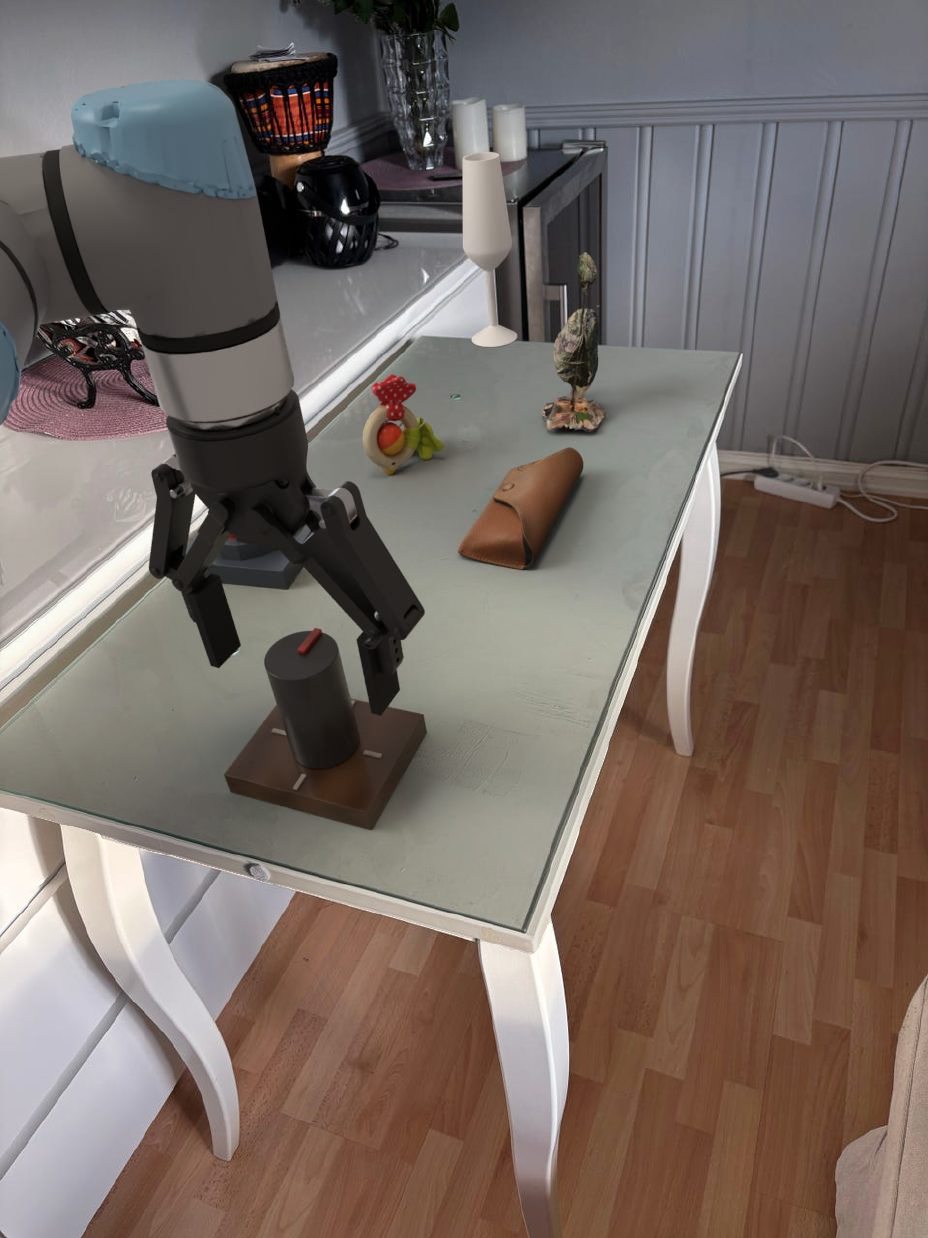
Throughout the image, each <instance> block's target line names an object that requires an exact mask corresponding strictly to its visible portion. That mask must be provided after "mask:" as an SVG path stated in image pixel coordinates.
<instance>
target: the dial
mask: <svg viewBox="0 0 928 1238" xmlns="http://www.w3.org/2000/svg"><path fill="white" fill-rule="evenodd" d="M263 664H264V668H265V671H266V675H267V678H268V682H269V685H270V689H271V691H272V694H273V697H274V700H275V705H276V704H277V707H278V710H279V713H280V717H281V720H282V723H283V726H284V729H285V733H286V736H287V739H288V742H289V745H290V748H291V752H292V755H293V757H294V758H295V760H296V761H297V762H298V763H300V764H301V765H303V766H305V767H308V768H314V769H324V768H329V767H333V766H336V765H338V764H340V763H342V762H344V761H345V760H347V759H348V758H349V757H350V756H351V755H352V754H353V753H354V752H355V751H356V749H357V747H358V744H359V739H360V736H359V731H358V727H357V723H356V719H355V715H354V710H353V706H352V702H351V699H352V698H351V694H350V691H349V686H348V682H347V678H346V674H345V671H344V665H343V661H342V656H341V653H340V649H339V645H338V643H337V641H336V639H335V638H334V637H332V636H331V635H330V634H327V633H326V632H323V630H322V628H317V627H314V628H313V629H312V630H302V631H297V632H293V633H290V634H288V635H287V634H286V635H285V636H283V637H281V638H280V639H278V640H277V641H275V642H274V643H273V644H272V645H271V646H270V647H269V648H268V650H267V651H266V652H265V655H264V660H263Z"/></svg>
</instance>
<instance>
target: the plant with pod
mask: <svg viewBox="0 0 928 1238" xmlns="http://www.w3.org/2000/svg"><path fill="white" fill-rule="evenodd" d="M576 268H577V279H576V281H577V285H578V287H579V288H581V289H582V290H583V291H582V295H583V300H582V304H583V305H582V308H578V309H577V310H576V311H574V312H573V313H572V314H571V316H570V317H568V319H567V320H566V322H565V324H564V326H563V327H562V330H560V332H559V333H558V334H557V337H556V339H555V340H554V345H553V346H552V347H553V354H552V355H553V363H554V367H555V370H556V375H557V376H558V377H559V378H560V379H561V381H563V382H564V383H566V384H569V385H570V387H571V388H570V397H567V396H561V397H558V398H556V399H555V400H554V401H552V402H549V403H548V402H546V404H545V406H544V409H543V410H541V412H540V414H541V416H543V417H544V418H543V419H542V420H543V421H545V424H546V425H545V426H546V430H549V431H553V430H558V429H561V428H563V427H565V428H566V429H568V427H569V429H570V430H571V429H574V431H577V430H579V431H581V430H582V431H583V430H584V432H588V433H591V432H593V431H596V430H598V427H599V426H600V424H601V422H602V419H604V417H606V409H605V408H602V407H600V403H598V401H597V400H595V399H594V398H593V399H590V400H589V399H586V398H585V395H586V393H587V392H588V390H589V389H590V387H591V386H592V384H593V382H594V380H595V378H596V375H597V372H598V370H599V369H598V368H599V340H600V338H599V337H600V324H599V318H598V314H597V311H596V310H594V309H590V308H588V307H587V308H585V307H586V300H587V296H588V294H589V293H588V288H589V287H590V286H591V285H593V284H594V283H595V282H596V279H597V276H598V271H597V266H596V264H595V261H594V260H593V258H592V257H591V255H589V253H588V252H585V251H584V252H582V253H581V254H580V255H578V258H577V263H576ZM596 307H598V308H599V307H601V306H600V305H598V304H596Z"/></svg>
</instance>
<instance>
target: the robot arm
mask: <svg viewBox="0 0 928 1238" xmlns="http://www.w3.org/2000/svg"><path fill="white" fill-rule="evenodd" d="M70 119H71V123H72V128H73V134H72V136H71V137H72V142H73V144H68V145H62V146H61V147H60V148H58V149H51V150H46V151H44V152H36V153H28V154H17V155H11V156H1V157H0V426H1V425H2V424H3V423H4V422H5V421H6V420H7V418H8V416H9V413H10V410H11V407H12V405H13V402H14V401H15V400H16V399H17V398H18V395H19V390H20V387H21V386H20V385H21V379H22V378H21V377H22V369H23V367H24V364H25V362H26V360H27V356H28V354H29V352H30V350H31V349H32V347H33V344H34V342H35V339H36V337H37V335H38V332H39V329H40V327H41V325H46V324H52V323H58V322H64V321H69V320H70V321H71V320H77V319H82V318H89V317H94V316H95V317H96V316H102V315H107V314H111V313H112V312H118V311H124V310H125V311H129V312H130V314H131V316H132V319H133V321H134V323H135V328H136V331H137V335H138V338H139V340H140V344H141V347H142V350H143V354H144V357H145V358H144V359H145V361H146V364H147V367H148V371H149V374H150V378H151V380H152V384H153V388H154V392H155V396H156V398H157V402H158V405H159V408H160V409H161V411H163V412H164V413H165V414H166V415H167V416H166V420H165V421H166V422H165V424H166V428H167V431H168V434H169V438H170V441H171V444H172V447H173V450H174V454H172V455H170V456H169V457H168V458H166V459H165V460H164V461H163V462H161V463H160V464H158V465H157V466H156V467H154V468H153V469H152V470H151V472H150V476H151V479H152V484H153V486H154V487H153V488H154V491H155V496H156V502H155V510H154V519H153V526H152V535H151V543H150V544H151V545H150V553H149V561H148V571H149V574H151V576H153V578H156V579H157V580H162V579H163V578H165V577H166V578H167V579H169V580H171V584H172V586H173V587H174V588H175V589H176V590H178V591H179V592H180V593H181V596H182V599H183V601H184V605H185V607H186V610H187V613H188V616H189V617H190V619H191V621H192V623H195V624H196V628H197V630H198V633H199V636H200V638H201V642H202V644H203V647H204V650H205V654H206V656H207V659H208V662H209V666H210V667H213V668H216V669H220V668H221V667H222V666H223V665H224V664H225V663H226V662H227V660H229V659H230V658H231V657H232V656H233V654H234V653H236V652H237V651H238V649H239V648H241V646H242V643H241V640H240V637H239V634H238V630H237V628H236V624H235V621H234V618H233V615H232V612H231V607H230V605H229V601H228V599H227V595H226V592H225V589H224V586H223V583H222V582H221V579H220V575H216V574H212V573H211V574H210V575H209V576H207V577H206V578H205V575H204V574H205V573H206V572H207V571H208V570H209V569H210V568H211V567H212V566H214V565H213V564H212V563H213V562H214V560H215V558H216V557H217V555H218V554H219V552H220V551H221V549H222V547H223V546H224V544H225V543H226V541H227V540H228V538H229V537H230V535H233V536H235V537H236V540H237V542H242V543H246V544H250V543H257V544H259V545H261V546H263V547H266V548H268V549H273V550H277V551H278V550H280V551H281V552H282V553H283V555H284V556H285V557H286V558H287V559H288V560H289V561H290V562H291V563H293V564H300V565H302V566H303V567H302V568H304V569H305V570H306V572H308V573H309V575H311V577H312V578H313V579H314V580H315V581H316V582H317V584H319V586H320V587H322V589H323V590H324V591H325V592H326V593H327V594H328V595H329V597H330V598H331V599H333V601H335V603H336V604H337V605H338V606H339V607H340V608H341V609H342V610H343V612H344V613H345V614H346V615H347V616H348V618H350V619H351V620H352V621H353V622H354V624H356V626H357V627H358V628H359V629H360V630H361V631H362V632H361V633H360V635H359V636H358V637H357V638H356V644H357V645H356V646H357V648H358V655H359V660H360V664H361V665H360V666H361V669H362V674H363V679H364V684H365V688H366V694H367V699H368V702H369V704H370V709H371V713H372V714H376V715H379V716H381V715H382V714H383V713H384V711H385V710H386V708H387V707H390V704H392V702H393V701H394V699H395V698H396V696H397V695H398V694H399V692H400V691H401V686H400V680H399V675H398V668H399V667H400V666H401V664H402V663H403V661H404V658H405V657H404V651H403V646H402V645H403V644H402V641H404V640H406V639H407V638H408V636H409V635H410V634H411V632H412V631H413V630H414V629H415V627H417V625H418V623H419V622H420V621H421V620H422V619H423V617H424V616H425V613H426V610H425V607H424V606H423V604H422V603H421V602H420V600H419V598H418V596H417V595H416V592H414V590H413V588H412V586H411V585H410V583H409V582H408V580H407V579H406V577H405V575H404V574H403V572H402V570H401V569H400V567H399V565H398V564H397V563H396V561H395V559H394V557H393V555H392V554H391V553H390V550H389V549H388V548H387V546H386V545H385V543H384V541H383V540H382V538H381V536H380V535H379V533H378V531H377V530H376V529H375V526H374V524H372V522H371V520H370V519H369V517H368V515H367V512H366V508H365V505H364V501H363V497H362V494H361V491H360V489H359V487H358V485H357V484H356V483H354V482H353V481H350V480H346V481H344V482H343V483H342V484H341V485H339V487H338V488H321V487H317V486H316V484H315V482H314V481H313V479H312V478H311V476H310V475H309V473H308V469H307V468H308V467H307V466H308V465H307V463H308V452H309V440H308V436H307V431H306V427H305V426H306V425H305V420H304V416H303V412H302V408H301V402H300V398H299V395H298V394H297V392H296V391H295V390H294V389H293V388H294V386H295V375H294V371H293V366H292V362H291V357H290V352H289V347H288V343H287V340H286V334H285V330H284V325H283V320H282V315H281V310H280V306H279V301H278V296H277V291H276V285H275V281H274V276H273V270H272V265H271V259H270V254H269V249H268V244H267V239H266V235H265V229H264V225H263V224H264V223H263V218H262V214H261V208H260V203H259V198H258V197H259V196H258V192H257V189H256V184H255V181H254V177H253V174H252V169H251V165H250V162H249V157H248V154H247V149H246V145H245V141H244V137H243V134H242V130H241V125H240V122H239V118H238V115H237V111H236V107H235V105H234V103H233V101H232V99H230V97H229V96H228V95H227V94H226V93H225V92H224V91H223V90H222V89H221V87H219V86H217V85H215V84H213V83H211V82H208V81H204V80H200V79H187V78H186V79H183V78H181V79H180V78H179V79H162V80H153V81H143V82H137V83H131V84H129V85H126V86H120V87H109V88H104V89H100V90H97V91H93V92H91V93H90V92H89V93H87V94H85V95H83V96H81V97H79V98H77V100H75V102H74V103H73V104H72V106H71V110H70ZM196 496H197V498H198V499H199V500H200V501H201V502H202V504H204V506H205V508H207V509H208V510H207V514H206V516H205V518H204V519H203V521H202V523H201V524H200V526H199V528H198V529H197V533H199V534H198V536H197V537H196V539H195V541H194V542H193V544H192V546H191V548H190V549H189V551H188V553H187V554H186V550H187V545H188V543H189V537H190V531H191V525H192V518H193V513H194V507H195V500H196ZM305 525H307V527H308V528H309V529H310V530H311V535H310V536H309V537H308V538H307V539H306V540H305V541H304V542H303V543H302V544H301V543H299V542H298V541H297V540H296V539H295V538H296V537H297V536H298V535H299V534H300V533H301V532H302V530H303V528H304V526H305ZM376 613H377V614H376ZM375 614H376V615H375Z"/></svg>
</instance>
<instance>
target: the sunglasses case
mask: <svg viewBox="0 0 928 1238" xmlns="http://www.w3.org/2000/svg"><path fill="white" fill-rule="evenodd" d="M583 470H584V459H583V457H582V456H581V454H580V452H579V451H578V450H577V449H575V448H573V447H566V448H562V449H561V450H558V451H556V452H554V453H552V454H550V455H548V456H546V457H544V458H542V459H539V460H535V461H532V462H528V463H525V464H522V465H519V466H515V467H513V468H511V469H510V470H509V472H508V473H506V476H505V477H504V479H503V480H502V482H501V483H500V484H499V486H498V487H497V489H496V490H495V492H494V493H493V495H492V497H491V499H490V500H489V502H488V503H487V505H486V506H485V507H484V509H483V510H482V512H481V514H480V515H479V516H478V518H477V519H476V520H475V522H474V523H473V525H472V526H471V528H470V529H469V531H468V532H467V533H466V535H465V536H464V537H463V539H462V541H461V542H460V545H459V546H458V549H457V553H458V554H459V555H460V556H462V557H463V558H465V559H466V558H467V559H470V560H473V561H477V562H480V563H484V564H487V565H494V566H497V567H498V566H499V567H503V568H509V569H513V570H521V571H523V570H525V569H528V568H530V567H532V566H533V564H535V562H536V561H537V559H538V558H539V556H540V553H541V552H542V549H543V547H544V546H545V543H546V541H547V539H548V537H549V535H550V533H551V531H552V529H553V527H554V526H555V523H556V521H557V520H558V517H559V515H560V514H561V512H562V510H563V508H564V506H565V504H566V502H567V500H568V499H569V497H570V495H571V493H572V491H573V489H574V487H575V486H576V484H577V483H578V481H579V479H580V477H581V475H582V473H583Z"/></svg>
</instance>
